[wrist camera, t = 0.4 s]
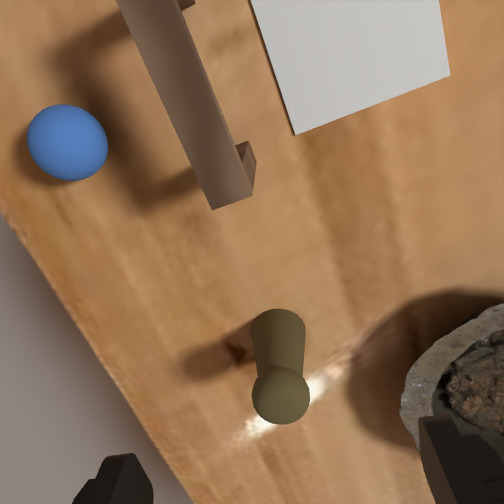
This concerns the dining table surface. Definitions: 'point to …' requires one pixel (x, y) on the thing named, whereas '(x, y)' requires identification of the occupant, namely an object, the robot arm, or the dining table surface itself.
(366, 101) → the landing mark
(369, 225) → the dining table surface
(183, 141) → the bridge
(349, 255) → the dining table surface
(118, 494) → the robot arm
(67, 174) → the ball
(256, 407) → the olive tall rounded piece
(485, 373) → the stone bowl
